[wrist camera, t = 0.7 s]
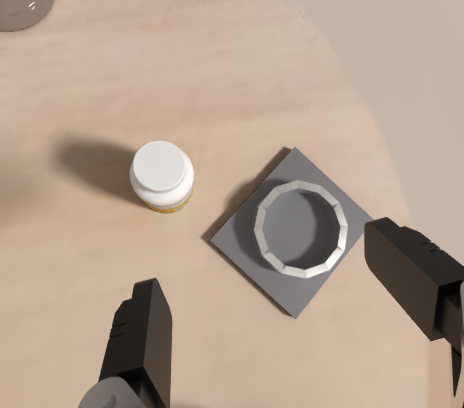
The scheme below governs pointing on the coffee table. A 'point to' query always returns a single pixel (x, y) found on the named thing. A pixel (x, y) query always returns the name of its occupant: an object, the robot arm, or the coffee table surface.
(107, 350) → the robot arm
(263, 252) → the stone collar
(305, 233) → the base plate
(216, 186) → the coffee table surface
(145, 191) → the supplement bottle
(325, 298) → the coffee table surface
